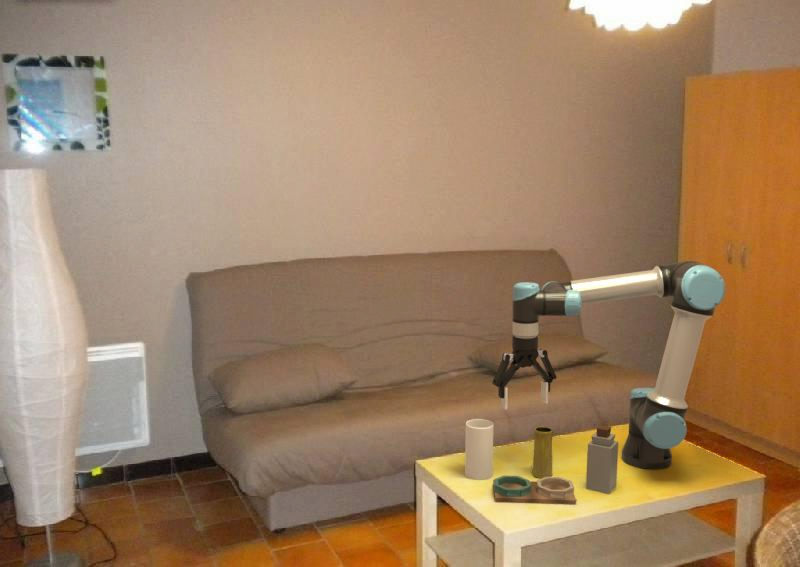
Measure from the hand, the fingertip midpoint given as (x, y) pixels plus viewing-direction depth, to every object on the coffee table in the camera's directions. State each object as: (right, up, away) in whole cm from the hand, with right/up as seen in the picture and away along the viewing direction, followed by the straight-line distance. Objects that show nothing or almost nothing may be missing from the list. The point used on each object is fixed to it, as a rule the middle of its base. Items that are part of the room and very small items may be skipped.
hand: (524, 405), depth 233 cm
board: (+1, -23, -11) cm, 26 cm away
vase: (+6, -21, +3) cm, 22 cm away
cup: (-13, -21, +3) cm, 25 cm away
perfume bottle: (+21, -23, -6) cm, 32 cm away
